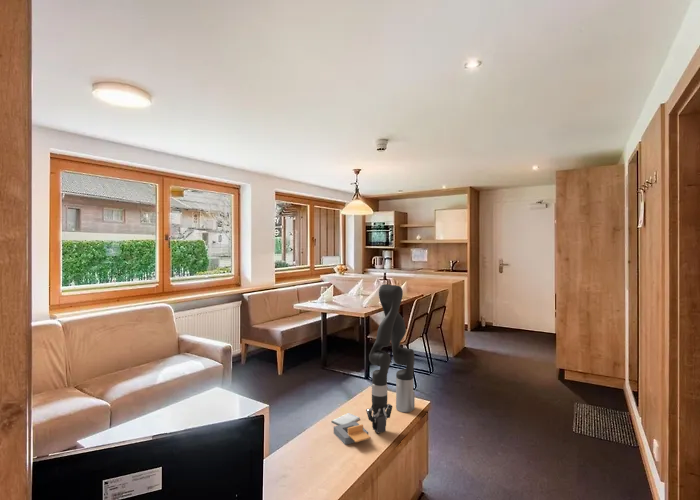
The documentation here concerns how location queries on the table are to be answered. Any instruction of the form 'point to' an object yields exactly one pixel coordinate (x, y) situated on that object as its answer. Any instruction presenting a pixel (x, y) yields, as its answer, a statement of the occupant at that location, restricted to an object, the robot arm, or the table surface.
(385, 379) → the robot arm
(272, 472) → the table surface
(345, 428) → the socket
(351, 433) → the panel
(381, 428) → the plug
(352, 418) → the hard drive
